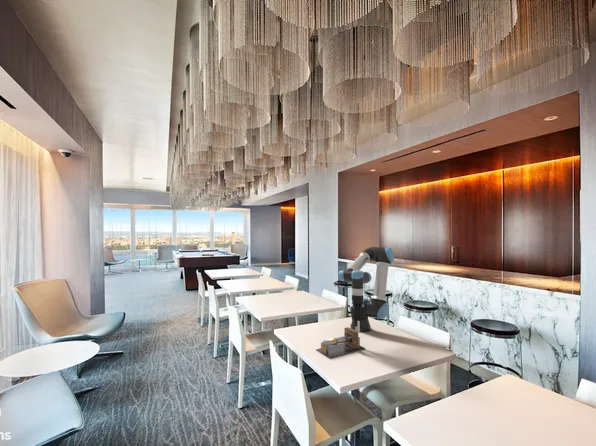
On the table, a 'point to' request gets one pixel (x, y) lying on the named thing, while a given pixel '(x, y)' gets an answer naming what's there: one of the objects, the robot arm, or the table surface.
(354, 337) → the collar
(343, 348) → the pipe rig
